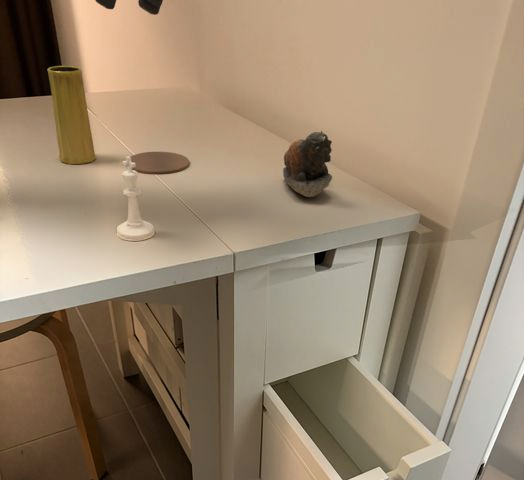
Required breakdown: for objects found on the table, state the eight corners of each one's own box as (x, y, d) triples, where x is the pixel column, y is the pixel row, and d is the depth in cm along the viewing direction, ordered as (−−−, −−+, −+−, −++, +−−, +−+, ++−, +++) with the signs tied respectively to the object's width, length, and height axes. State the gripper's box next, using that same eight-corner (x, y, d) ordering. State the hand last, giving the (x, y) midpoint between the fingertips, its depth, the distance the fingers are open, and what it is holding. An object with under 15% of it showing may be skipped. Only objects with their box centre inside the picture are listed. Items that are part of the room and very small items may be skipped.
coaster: (147, 178, 90) (147, 176, 90) (113, 160, 97) (113, 158, 96) (202, 166, 96) (202, 163, 96) (166, 150, 103) (166, 147, 102)
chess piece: (138, 244, 71) (130, 166, 65) (108, 235, 73) (98, 158, 67) (162, 231, 74) (157, 155, 68) (133, 222, 76) (125, 148, 70)
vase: (88, 151, 100) (75, 64, 91) (101, 161, 96) (90, 70, 88) (54, 156, 97) (38, 66, 88) (67, 166, 93) (52, 73, 85)
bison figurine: (274, 178, 93) (277, 115, 87) (313, 176, 94) (319, 114, 88) (294, 205, 84) (300, 136, 78) (338, 203, 85) (347, 135, 79)
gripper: (102, -180, 57) (61, -14, 61) (187, -201, 49) (134, -8, 53) (157, -128, 63) (117, 21, 67) (242, -140, 55) (190, 31, 59)
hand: (124, 8), depth 60 cm, fingers open, 8 cm apart
